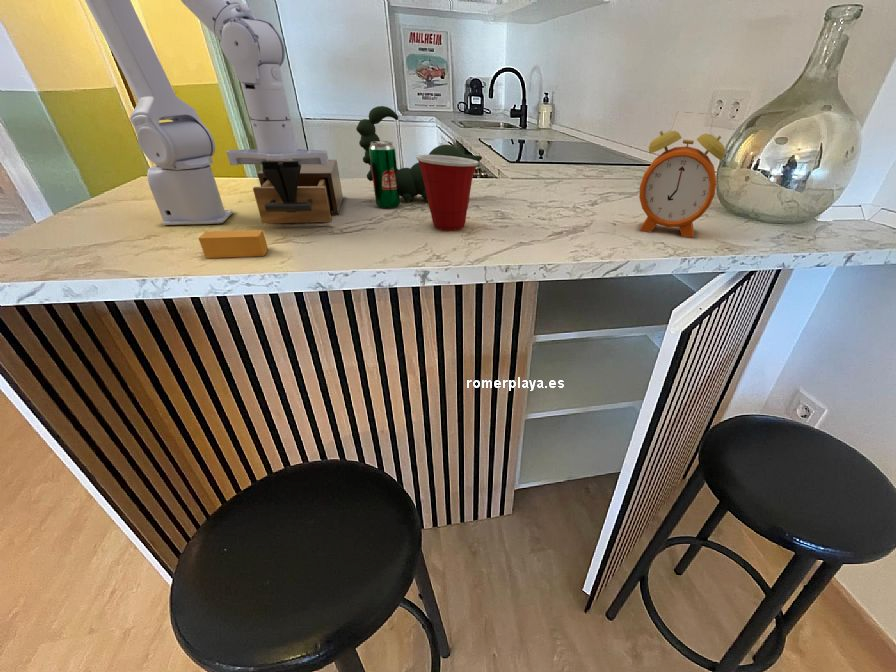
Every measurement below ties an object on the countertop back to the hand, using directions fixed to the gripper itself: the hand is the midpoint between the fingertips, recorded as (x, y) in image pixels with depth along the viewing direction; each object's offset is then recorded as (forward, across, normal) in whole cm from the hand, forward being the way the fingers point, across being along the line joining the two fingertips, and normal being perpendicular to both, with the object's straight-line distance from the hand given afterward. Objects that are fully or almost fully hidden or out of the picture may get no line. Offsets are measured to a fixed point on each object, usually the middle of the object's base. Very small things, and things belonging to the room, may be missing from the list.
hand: (292, 210), depth 76 cm
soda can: (+4, +16, +16) cm, 23 cm away
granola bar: (+3, -7, -11) cm, 13 cm away
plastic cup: (+4, +27, 0) cm, 27 cm away
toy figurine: (+4, +24, +21) cm, 32 cm away
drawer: (+3, 0, +6) cm, 7 cm away
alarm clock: (+4, +69, -7) cm, 69 cm away
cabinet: (+3, 0, +17) cm, 18 cm away
